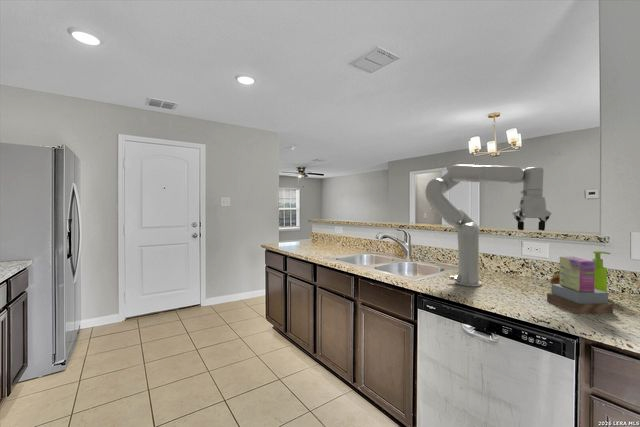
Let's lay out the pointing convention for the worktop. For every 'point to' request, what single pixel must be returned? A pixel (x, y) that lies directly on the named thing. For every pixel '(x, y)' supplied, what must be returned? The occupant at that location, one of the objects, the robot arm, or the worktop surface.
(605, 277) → the soap dispenser
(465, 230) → the robot arm
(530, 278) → the worktop surface
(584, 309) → the tower base
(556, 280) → the onion
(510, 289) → the worktop surface
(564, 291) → the tower top
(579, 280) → the box
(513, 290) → the worktop surface
